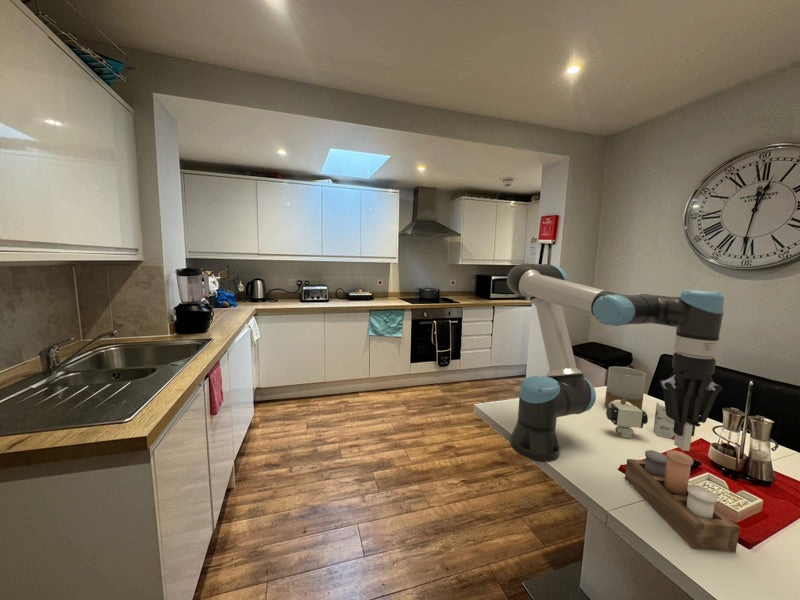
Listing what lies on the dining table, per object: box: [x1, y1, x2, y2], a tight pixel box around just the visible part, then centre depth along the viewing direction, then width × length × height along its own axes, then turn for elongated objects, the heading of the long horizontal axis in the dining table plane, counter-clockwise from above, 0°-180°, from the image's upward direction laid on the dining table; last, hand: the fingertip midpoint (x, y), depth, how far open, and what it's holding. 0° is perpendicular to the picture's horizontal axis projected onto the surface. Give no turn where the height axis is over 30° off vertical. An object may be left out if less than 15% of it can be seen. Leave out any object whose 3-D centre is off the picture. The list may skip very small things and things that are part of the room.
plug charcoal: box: [644, 449, 668, 477], centre depth 86 cm, size 5×5×9 cm
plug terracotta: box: [664, 449, 694, 496], centre depth 79 cm, size 5×5×9 cm
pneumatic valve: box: [605, 402, 649, 439], centre depth 115 cm, size 6×12×12 cm, turn 79°
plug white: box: [686, 484, 718, 519], centre depth 72 cm, size 5×5×9 cm
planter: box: [604, 366, 647, 410], centre depth 136 cm, size 13×13×18 cm
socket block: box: [624, 458, 741, 553], centre depth 80 cm, size 9×23×6 cm, turn 176°
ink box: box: [653, 401, 675, 441], centre depth 116 cm, size 9×5×12 cm, turn 65°
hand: (681, 447), depth 78 cm, fingers closed
